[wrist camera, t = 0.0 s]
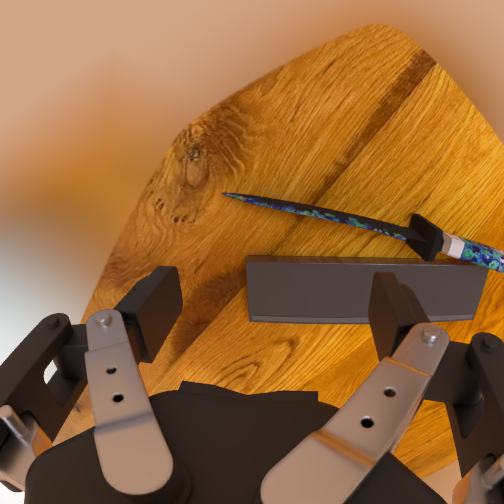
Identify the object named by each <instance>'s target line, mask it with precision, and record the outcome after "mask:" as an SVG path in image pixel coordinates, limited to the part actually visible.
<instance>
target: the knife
mask: <svg viewBox="0 0 504 504" xmlns="http://www.w3.org/2000/svg"><path fill="white" fill-rule="evenodd" d="M222 194H224V195H226V196H229V197H232V198H235V199H238V200H241V201H244V202H248V203H251V204H255V205H259V206H263V207H268V208H272V209H277V210H282V211H287V212H291V213H296V214H302V215H307V216H311V217H316V218H321V219H326V220H330V221H335V222H339V223H343V224H348V225H352V226H356V227H360V228H365V229H369V230H372V231H375V232H379V233H382V234H385V235H388V236H391V237H394V238H397V239H400V240H403V241H406V244H408V245H409V246H410V247H411V248H412V249H413V250H414V251H415V252H416V253H417V254H418V255H419V256H420V257H421V258H423V259H424V260H425V261H426V262H433V261H434V259H435V256H436V253H437V252H439V253H442V254H445V255H448V256H452V257H455V258H458V259H461V260H464V261H467V262H470V263H474V264H477V265H480V266H483V267H486V268H489V269H492V270H495V271H498V272H501V273H504V252H503V251H501V250H498V249H495V248H492V247H489V246H486V245H483V244H480V243H477V242H474V241H471V240H468V239H465V238H461V237H458V236H455V235H452V234H448V233H445V232H443V231H442V230H441V229H440V228H438V227H437V226H436V225H434V224H433V223H431V222H430V221H428V220H427V219H425V218H424V217H422V216H421V215H419V214H415V213H414V214H413V216H412V219H411V223H410V226H409V228H406V227H401V226H398V225H394V224H391V223H387V222H383V221H380V220H375V219H371V218H367V217H363V216H358V215H354V214H349V213H345V212H340V211H335V210H331V209H326V208H321V207H316V206H311V205H306V204H301V203H295V202H290V201H284V200H278V199H272V198H266V197H260V196H254V195H246V194H237V193H222Z"/></svg>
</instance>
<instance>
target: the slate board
mask: <svg viewBox="0 0 504 504" xmlns="http://www.w3.org/2000/svg"><path fill="white" fill-rule="evenodd" d="M488 271H489V268H486V267H483V266H480V265H477V264H474V263H470V262H467V261H464V260H461V259H434V261H433V262H426V261H425V260H424V259H423V258H365V257H312V256H263V255H248V257H247V259H246V278H247V295H248V313H249V322H267V323H294V324H370V323H369V318H368V308H369V301H370V295H371V288H372V282H373V276H374V273H375V272H394V274H395V276H396V278H397V280H398V282H399V284H406V285H407V286H408V287H409V288H411V289H412V290H413V291H414V293H415V294H416V296H417V300H419V302H420V304H421V306H422V307H423V309H424V311H425V313H426V315H427V317H428V319H429V321H430V322H448V321H464V320H473V319H474V316H475V313H476V310H477V307H478V304H479V301H480V298H481V295H482V292H483V288H484V285H485V281H486V278H487V274H488Z"/></svg>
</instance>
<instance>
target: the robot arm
mask: <svg viewBox="0 0 504 504" xmlns="http://www.w3.org/2000/svg"><path fill="white" fill-rule="evenodd" d="M182 306H183V299H182V293H181V287H180V281H179V274H178V270H177V268H176V267H175V266H157V267H156V269H155V270H154V271H153V272H152V273H151V274H150V275H149V276H147V277H145V278H143V279H142V280H140V281H138V282H137V283H136V284H135V285H134V286H133V287H132V290H130V291H129V292H128V293H127V295H125V296H124V297H123V299H122V300H121V301H120V302H119V303H118V304H117V305H116V306H115V308H114V309H113V310H112V309H108V310H102V311H99V312H96V313H95V314H93V315H91V316H90V317H89V318H88V320H87V322H86V324H78V325H71V323H70V320H69V317H68V316H67V315H66V314H63V313H56V314H52V315H50V316H47V317H46V318H44V319H43V320H42V321H41V322H40V323H39V324H38V325H37V326H36V327H35V328H34V329H33V330H32V331H31V332H30V333H29V334H28V335H27V337H26V338H25V339H24V340H23V341H22V342H21V343H20V344H19V345H18V346H17V348H16V349H15V350H14V351H13V352H12V353H11V354H10V355H9V357H8V358H7V359H6V360H5V361H4V362H3V364H2V365H1V366H0V482H1V483H2V484H3V485H5V486H6V487H7V488H8V489H9V490H11V491H13V492H22V491H24V492H25V499H24V504H447V503H446V501H445V500H444V499H443V498H442V497H441V496H440V495H439V494H437V493H436V492H435V491H434V490H433V489H431V488H430V487H429V486H428V485H427V484H426V483H424V482H423V481H422V480H421V479H420V478H419V477H418V476H416V475H415V474H414V473H413V472H412V471H411V470H410V469H408V468H407V467H406V466H405V465H404V464H403V463H402V462H401V461H399V460H398V459H397V458H396V457H395V456H394V455H393V454H392V453H393V451H394V450H395V448H396V447H397V445H398V443H399V442H400V440H401V438H402V437H403V435H404V434H405V432H406V430H407V429H408V427H409V425H410V424H411V422H412V421H413V419H414V417H415V415H416V414H417V412H418V410H419V409H420V407H421V405H422V403H423V401H424V399H425V400H431V401H437V402H444V403H445V406H446V409H447V413H448V417H449V421H450V425H451V429H452V433H453V437H454V442H455V446H456V451H457V456H458V460H459V466H460V471H461V477H462V479H461V480H460V481H459V482H458V484H457V485H456V486H455V488H454V491H453V495H452V504H504V343H503V341H502V340H501V339H500V338H498V337H497V336H495V335H493V334H490V333H485V332H481V333H477V334H475V335H474V336H473V337H472V339H471V342H470V344H466V343H459V342H454V341H450V340H449V335H448V333H447V332H446V331H445V330H444V329H443V328H442V327H440V326H438V325H435V324H432V323H431V322H430V321H429V319H428V317H427V315H426V313H425V311H424V309H423V307H422V306H421V304H420V302H419V300H417V296H416V294H415V293H414V291H413V290H412V289H411V288H409V287H408V286H407V285H406V284H399V282H398V280H397V278H396V276H395V274H394V272H375V273H374V276H373V282H372V288H371V295H370V301H369V308H368V318H369V323H370V327H371V330H372V334H373V338H374V342H375V346H376V350H377V354H378V358H379V362H380V363H379V364H378V365H377V366H376V368H375V369H374V370H373V371H372V372H371V374H370V375H369V376H368V377H367V378H366V380H365V381H364V382H363V383H362V384H361V386H360V387H359V388H358V389H357V390H356V391H355V393H354V394H353V395H352V396H351V397H350V398H349V399H348V400H347V402H346V403H345V404H344V405H343V406H342V407H341V408H340V409H339V408H337V407H335V406H332V405H330V404H326V403H323V402H319V401H318V391H285V390H283V391H276V392H268V393H260V394H252V395H245V394H241V393H238V392H235V391H231V390H228V389H225V388H222V387H219V386H216V385H211V384H203V383H195V382H188V381H182V383H181V385H180V387H179V390H172V391H166V392H162V393H158V394H155V395H152V396H150V397H149V395H148V392H147V390H146V387H145V384H144V381H143V379H142V376H141V373H140V370H139V367H138V365H139V363H140V362H145V363H151V364H152V362H153V361H154V359H155V357H156V355H157V354H158V352H159V350H160V348H161V347H162V345H163V343H164V341H165V340H166V338H167V336H168V334H169V333H170V331H171V329H172V327H173V326H174V324H175V322H176V320H177V319H178V317H179V315H180V314H181V311H182ZM52 360H53V362H54V364H55V365H56V367H57V371H56V372H55V374H54V375H53V376H52V378H51V379H50V381H49V382H48V383H47V385H46V383H45V381H44V371H45V369H46V368H47V366H48V365H49V364H50V362H51V361H52ZM87 384H88V386H89V392H90V399H91V405H92V410H93V416H94V421H95V426H94V427H92V428H90V429H88V430H86V431H84V432H82V433H80V434H78V435H76V436H74V437H72V438H70V439H68V440H66V441H64V442H62V443H60V444H58V445H56V446H54V447H53V446H52V443H53V441H54V440H55V438H56V436H57V434H58V433H59V431H60V429H61V427H62V426H63V424H64V422H65V420H66V419H67V417H68V415H69V414H70V412H71V410H72V409H73V407H74V405H75V403H76V402H77V400H78V398H79V397H80V395H81V394H82V392H83V390H84V389H85V387H86V385H87ZM482 396H483V397H482ZM483 399H484V400H483Z"/></svg>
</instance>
